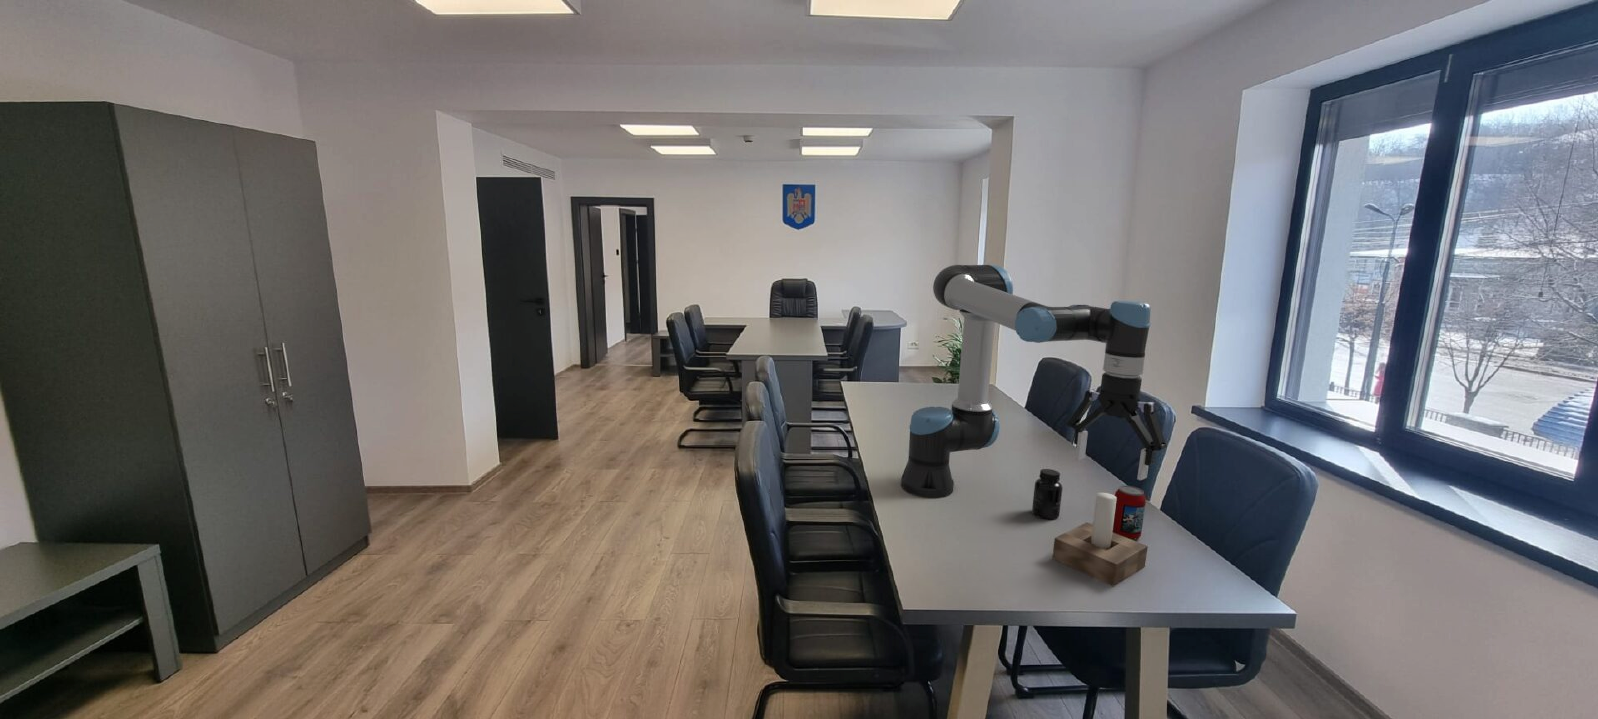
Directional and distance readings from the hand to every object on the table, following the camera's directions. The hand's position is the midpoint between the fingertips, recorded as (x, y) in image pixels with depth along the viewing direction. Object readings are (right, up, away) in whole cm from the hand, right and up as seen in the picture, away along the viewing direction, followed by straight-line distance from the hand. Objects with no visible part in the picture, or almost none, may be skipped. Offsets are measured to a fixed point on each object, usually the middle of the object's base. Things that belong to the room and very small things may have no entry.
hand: (1109, 468), depth 132 cm
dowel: (-1, -22, +4) cm, 22 cm away
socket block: (-1, -22, +4) cm, 22 cm away
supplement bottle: (-3, -18, +28) cm, 33 cm away
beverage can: (+13, -20, +18) cm, 30 cm away
